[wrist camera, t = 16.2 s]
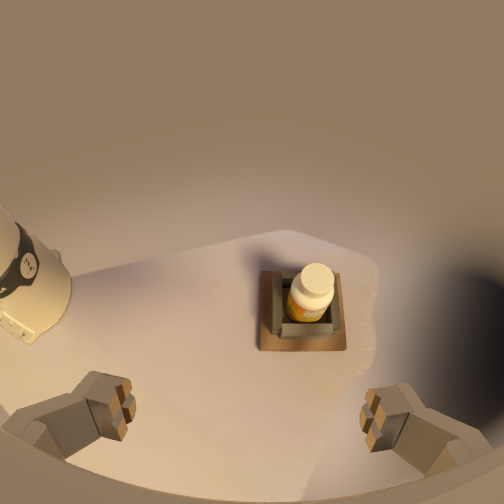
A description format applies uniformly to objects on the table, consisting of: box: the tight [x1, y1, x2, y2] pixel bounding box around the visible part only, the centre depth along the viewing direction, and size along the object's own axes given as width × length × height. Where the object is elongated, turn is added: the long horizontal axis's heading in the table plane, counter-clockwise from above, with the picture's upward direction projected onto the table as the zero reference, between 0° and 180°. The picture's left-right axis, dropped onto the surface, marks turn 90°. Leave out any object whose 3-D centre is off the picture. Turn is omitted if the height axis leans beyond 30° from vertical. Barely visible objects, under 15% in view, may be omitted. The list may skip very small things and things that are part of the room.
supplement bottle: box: [286, 263, 334, 324], centre depth 37 cm, size 5×5×10 cm
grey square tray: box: [260, 271, 347, 351], centre depth 40 cm, size 12×12×4 cm
